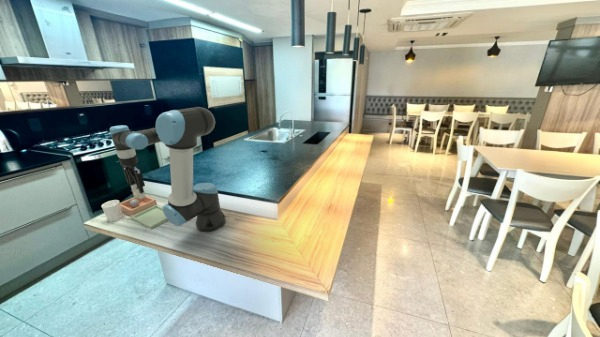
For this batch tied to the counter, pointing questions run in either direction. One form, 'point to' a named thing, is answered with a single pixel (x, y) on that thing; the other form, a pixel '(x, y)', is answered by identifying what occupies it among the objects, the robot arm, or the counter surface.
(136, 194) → the sand pebble
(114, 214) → the white cup
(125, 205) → the terracotta dish
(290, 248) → the counter surface
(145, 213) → the parts tray
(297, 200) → the counter surface
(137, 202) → the slate pebble
